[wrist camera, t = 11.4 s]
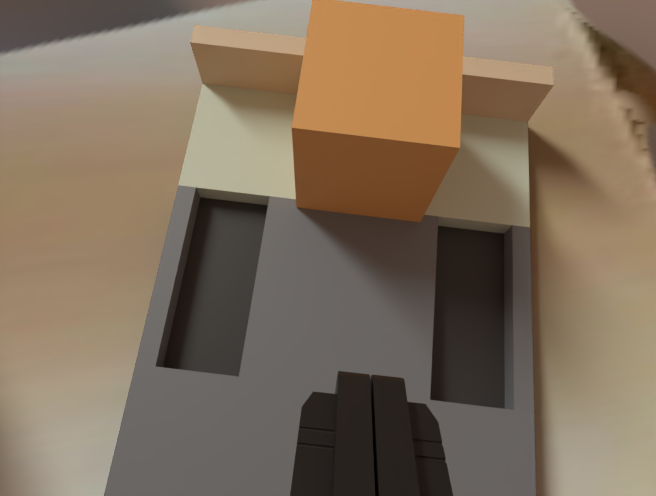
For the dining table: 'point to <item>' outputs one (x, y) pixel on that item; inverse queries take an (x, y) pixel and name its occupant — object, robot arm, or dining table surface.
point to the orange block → (377, 109)
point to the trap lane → (331, 291)
